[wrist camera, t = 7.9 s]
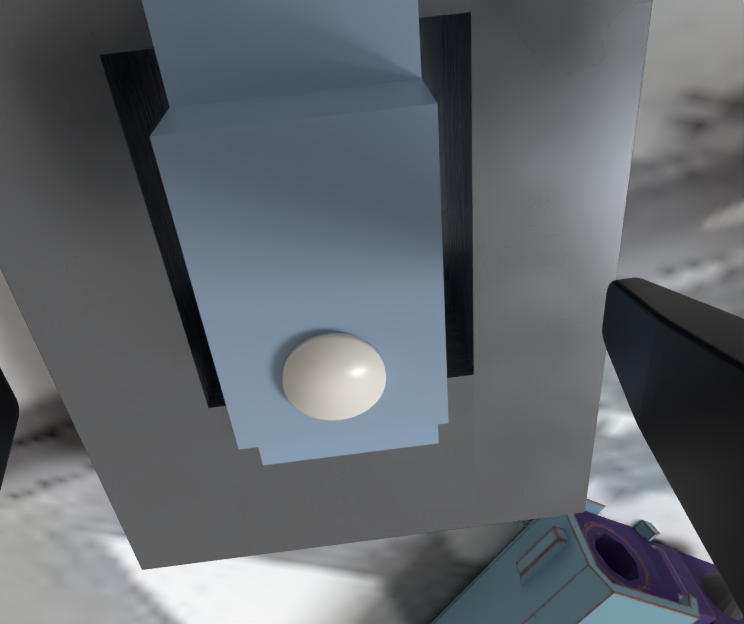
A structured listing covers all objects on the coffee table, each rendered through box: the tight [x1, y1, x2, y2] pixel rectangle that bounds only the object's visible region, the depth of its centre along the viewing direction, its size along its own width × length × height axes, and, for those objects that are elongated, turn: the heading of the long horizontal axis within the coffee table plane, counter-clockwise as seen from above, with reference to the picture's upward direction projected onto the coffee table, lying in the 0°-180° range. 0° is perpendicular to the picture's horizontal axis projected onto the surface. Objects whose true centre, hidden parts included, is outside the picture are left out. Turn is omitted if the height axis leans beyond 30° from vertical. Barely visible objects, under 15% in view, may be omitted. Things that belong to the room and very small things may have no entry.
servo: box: [142, 0, 449, 465], centre depth 12 cm, size 4×10×5 cm, turn 5°
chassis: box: [0, 0, 653, 570], centre depth 14 cm, size 12×18×3 cm, turn 5°
